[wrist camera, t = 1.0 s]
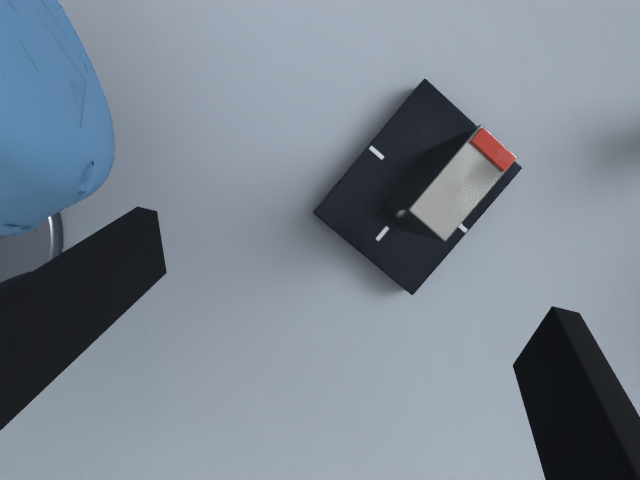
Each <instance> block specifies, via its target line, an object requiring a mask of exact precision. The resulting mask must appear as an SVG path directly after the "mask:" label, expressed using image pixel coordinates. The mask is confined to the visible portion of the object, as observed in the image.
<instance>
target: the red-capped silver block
mask: <svg viewBox="0 0 640 480" xmlns="http://www.w3.org/2000/svg"><path fill="white" fill-rule="evenodd" d="M516 159H517V157H516V156H515V155H514V154H513V153H512V152H511V151H510V150H509V149H507V148H506V147H505V146H504V145H503V144H502V143H501V142H500V141H499V140H498V139H497V138H496V137H494V136H493V135H492V134H491V133H490V132H489V131H488V130H487V129H486V128H485V127H484V126H483V125H479V126H477V127H475V128H473V129H470V130H468V131H466V132H464V133H462V134H460V135H458V136H455V137H453V138H451V139H449V140H447V141H445V142H443V143H440V144H438V145H436V146H434V147H432V148H431V149H430V150H429V151H428V152H427V153H426V155H425V156H424V157H423V158H422V159H421V160H420V162H419V163H418V164H417V165H416V166H415V168H414V169H413V170H412V171H411V172H410V174H409V175H408V176H407V177H406V178H405V179H404V181H403V182H402V183H401V184H400V185H399V187H398V188H397V189H396V190H395V191H394V193H393V194H392V195H391V196H390V197H389V199H388V200H387V201H386V202H385V203H384V204H383V206H382V207H381V208H380V209H381V210H382V211H383V212H384V213H385V214H386V215H388V216H389V217H390V218H391V219H392V220H393V221H395V222H396V223H397V224H398V225H399V226H400V227H402V228H403V229H404V230H405V231H406V232H410V233H414V234H418V235H422V236H426V237H430V238H434V239H438V240H441V241H446V240H447V239H448V238H449V237H450V236H451V235H452V233H453V232H454V231H455V230H456V229H457V228H458V226H459V225H460V224H461V223H462V222H463V221H464V219H465V218H466V217H467V216H468V215H469V214H470V213H471V211H472V210H473V209H474V208H475V207H476V206H477V204H478V203H479V202H480V201H481V200H482V199H483V197H484V196H485V195H486V194H487V193H488V192H489V190H490V189H491V188H492V187H493V186H494V185H495V183H496V182H497V181H498V180H499V179H500V178H501V176H502V175H503V174H504V173H505V172H506V171H507V169H508V168H509V167H510V166H511V165H512V164H513V162H514V161H515V160H516Z"/></svg>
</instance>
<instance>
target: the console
mask: <svg viewBox="0 0 640 480" xmlns="http://www.w3.org/2000/svg"><path fill="white" fill-rule="evenodd" d="M475 127H477V126H476V125H475V124H474V123H473V122H472V121H471V120H470V119H468V118H467V117H466V116H465V115H464V114H463V113H462V112H461V111H460V110H459V109H458V108H456V107H455V106H454V105H453V104H452V103H451V102H450V101H449V100H448V99H447V98H446V97H445V96H443V95H442V94H441V93H440V92H439V91H438V90H437V89H436V88H435V87H434V86H433V85H431V84H430V83H429V82H428V81H427V80H426V79H424V80H423V81H422V82H421V83H420V84H419V85H418V86H417V87H416V88H415V90H414V91H413V92H412V93H411V94H410V96H409V97H408V98H407V99H406V100H405V102H404V103H403V104H402V105H401V106H400V108H399V109H398V110H397V111H396V113H395V114H394V115H393V116H392V117H391V119H390V120H389V121H388V122H387V123H386V125H385V126H384V127H383V128H382V129H381V131H380V132H379V133H378V134H377V135H376V137H375V138H374V139H373V140H372V141H371V143H370V144H369V145H368V146H367V147H366V149H365V150H364V151H363V152H362V154H361V155H360V156H359V157H358V158H357V160H356V161H355V162H354V163H353V164H352V166H351V167H350V168H349V169H348V170H347V172H346V173H345V174H344V175H343V176H342V178H341V179H340V180H339V181H338V182H337V184H336V185H335V186H334V187H333V188H332V190H331V191H330V192H329V193H328V195H327V196H326V197H325V198H324V199H323V201H322V202H321V203H320V204H319V205H318V207H317V208H316V209H315V210H314V211H313V213H314V214H315V215H316V216H318V217H319V218H320V219H321V220H322V221H324V222H325V223H326V224H327V225H328V226H330V227H331V228H332V229H333V230H334V231H336V232H337V233H338V234H339V235H340V236H342V237H343V238H344V239H345V240H346V241H348V242H349V243H350V244H351V245H352V246H354V247H355V248H356V249H357V250H358V251H360V252H361V253H362V254H363V255H364V256H366V257H367V258H368V259H369V260H370V261H372V262H373V263H374V264H375V265H376V266H378V267H379V268H380V269H381V270H382V271H384V272H385V273H386V274H387V275H388V276H390V277H391V278H392V279H393V280H394V281H396V282H397V283H398V284H399V285H400V286H402V287H403V288H404V289H405V290H406V291H407V292H409V293H410V294H411V295H413V294H414V293H415V292H416V291H417V289H418V288H419V287H420V286H421V285H422V284H423V283H424V281H425V280H426V279H427V278H428V277H429V276H430V274H431V273H432V272H433V271H434V270H435V269H436V267H437V266H438V265H439V264H440V263H441V262H442V260H443V259H444V258H445V257H446V256H447V255H448V253H449V252H450V251H451V250H452V249H453V248H454V247H455V245H456V244H457V243H458V242H459V241H460V240H461V238H462V237H463V236H464V235H465V234H466V233H467V231H468V230H469V229H470V228H471V227H472V226H473V224H474V223H475V222H476V221H477V220H478V219H479V218H480V216H481V215H482V214H483V213H484V212H485V211H486V209H487V208H488V207H489V206H490V205H491V204H492V202H493V201H494V200H495V199H496V198H497V197H498V195H499V194H500V193H501V192H502V191H503V190H504V189H505V187H506V186H507V185H508V184H509V183H510V182H511V180H512V179H513V178H514V177H515V176H516V175H517V173H518V172H519V171H520V170H521V169H522V167H521V166H520V165H518V164H517V163H516V162H515V161H514V162H513V164H512V165H511V166H510V167H509V168H508V169H507V171H506V172H505V173H504V174H503V175H502V176H501V178H500V179H499V180H498V181H497V182H496V183H495V185H494V186H493V187H492V188H491V189H490V190H489V192H488V193H487V194H486V195H485V196H484V197H483V199H482V200H481V201H480V202H479V203H478V204H477V206H476V207H475V208H474V209H473V210H472V211H471V213H470V214H469V215H468V216H467V217H466V218H465V219H464V221H463V222H462V223H461V224H460V225H459V226H458V228H457V229H456V230H455V231H454V232H453V233H452V235H451V236H450V237H449V238H448V239H447V240H446V241H441V240H438V239H434V238H430V237H426V236H422V235H418V234H414V233H410V232H406V231H405V230H404V229H403V228H402V227H400V226H399V225H398V224H397V223H396V222H395V221H393V220H392V219H391V218H390V217H389V216H388V215H386V214H385V213H384V212H383V211H382V210H381V209H380V208H381V207H382V206H383V204H384V203H385V202H386V201H387V200H388V199H389V197H390V196H391V195H392V194H393V193H394V191H395V190H396V189H397V188H398V187H399V185H400V184H401V183H402V182H403V181H404V179H405V178H406V177H407V176H408V175H409V174H410V172H411V171H412V170H413V169H414V168H415V166H416V165H417V164H418V163H419V162H420V160H421V159H422V158H423V157H424V156H425V155H426V153H427V152H428V151H429V150H430V149H431V148H432V147H434V146H436V145H438V144H440V143H443V142H445V141H447V140H449V139H451V138H453V137H455V136H458V135H460V134H462V133H464V132H466V131H468V130H470V129H473V128H475Z"/></svg>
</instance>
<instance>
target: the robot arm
mask: <svg viewBox="0 0 640 480" xmlns="http://www.w3.org/2000/svg"><path fill="white" fill-rule="evenodd" d="M113 159H114V131H113V126H112V120H111V116H110V112H109V108H108V105H107V102H106V99H105V96H104V93H103V91H102V88H101V85H100V82H99V80H98V78H97V76H96V73H95V71H94V68H93V66H92V64H91V62H90V59H89V57H88V55H87V53H86V51H85V49H84V47H83V45H82V43H81V41H80V39H79V37H78V35H77V33H76V32H75V30H74V28H73V26H72V24H71V23H70V21H69V19H68V17H67V16H66V14H65V12H64V11H63V9H62V7H61V5H60V4H59V2H58V0H0V430H1V429H3V428H4V427H5V426H6V425H7V424H8V423H9V422H10V421H11V420H12V419H13V418H14V417H15V416H16V415H17V414H18V413H19V412H20V411H21V410H23V409H24V408H25V407H26V406H27V405H28V404H29V403H30V402H31V401H32V400H33V399H34V398H35V397H36V396H37V395H38V394H39V393H40V392H41V391H43V390H44V389H45V388H46V387H47V386H48V385H49V384H50V383H51V382H52V381H53V380H54V379H55V378H56V377H57V376H58V375H59V374H60V373H61V372H63V371H64V370H65V369H66V368H67V367H68V366H69V365H70V364H71V363H72V362H73V361H74V360H75V359H76V358H77V357H78V356H79V355H80V354H81V353H83V352H84V351H85V350H86V349H87V348H88V347H89V346H90V345H91V344H92V343H93V342H94V341H95V340H96V339H97V338H98V337H99V336H100V335H101V334H103V333H104V332H105V331H106V330H107V329H108V328H109V327H110V326H111V325H112V324H113V323H114V322H115V321H116V320H117V319H118V318H119V317H120V316H121V315H123V314H124V313H125V312H126V311H127V310H128V309H129V308H130V307H131V306H132V305H133V304H134V303H135V302H136V301H137V300H138V299H139V298H140V297H141V296H143V295H144V294H145V293H146V292H147V291H148V290H149V289H150V288H151V287H152V286H153V285H154V284H155V283H156V282H157V281H158V280H159V279H160V278H161V277H163V276H164V275H165V274H166V266H165V260H164V254H163V247H162V241H161V234H160V228H159V221H158V215H157V211H154V210H149V209H145V208H141V207H136V208H135V209H133V210H131V211H130V212H128V213H126V214H125V215H123V216H122V217H120V218H118V219H117V220H115V221H113V222H112V223H110V224H109V225H107V226H105V227H104V228H102V229H100V230H99V231H97V232H96V233H94V234H92V235H91V236H89V237H87V238H86V239H84V240H83V241H81V242H79V243H78V244H76V245H74V246H73V247H71V248H70V249H68V250H66V251H65V252H63V253H62V247H63V228H62V221H61V217H60V213H59V211H61V210H63V209H65V208H67V207H69V206H71V205H73V204H75V203H77V202H79V201H81V200H83V199H85V198H86V197H88V196H89V195H91V194H93V193H94V192H95V191H96V190H97V189H98V188H99V187H100V186H101V185H102V184H103V182H104V181H105V180H106V178H107V177H108V175H109V172H110V170H111V167H112V163H113ZM513 368H514V371H515V375H516V378H517V382H518V385H519V389H520V392H521V395H522V399H523V402H524V406H525V409H526V413H527V416H528V420H529V423H530V427H531V430H532V434H533V437H534V441H535V444H536V448H537V451H538V455H539V458H540V462H541V465H542V469H543V472H544V476H545V479H546V480H640V417H639V415H638V413H637V411H636V410H635V408H634V406H633V405H632V403H631V401H630V399H629V398H628V396H627V394H626V392H625V391H624V389H623V387H622V386H621V384H620V382H619V380H618V379H617V377H616V375H615V373H614V372H613V370H612V368H611V367H610V365H609V363H608V361H607V360H606V358H605V356H604V355H603V353H602V351H601V349H600V348H599V346H598V344H597V342H596V341H595V339H594V337H593V336H592V334H591V332H590V330H589V329H588V327H587V325H586V323H585V322H584V320H583V318H582V317H581V315H580V313H578V312H573V311H569V310H565V309H561V308H557V307H553V306H552V307H551V309H550V310H549V312H548V313H547V315H546V316H545V318H544V319H543V321H542V322H541V324H540V325H539V327H538V328H537V330H536V331H535V333H534V334H533V336H532V337H531V339H530V340H529V342H528V343H527V345H526V346H525V348H524V349H523V351H522V352H521V354H520V355H519V357H518V358H517V360H516V361H515V363H514V364H513Z"/></svg>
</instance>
